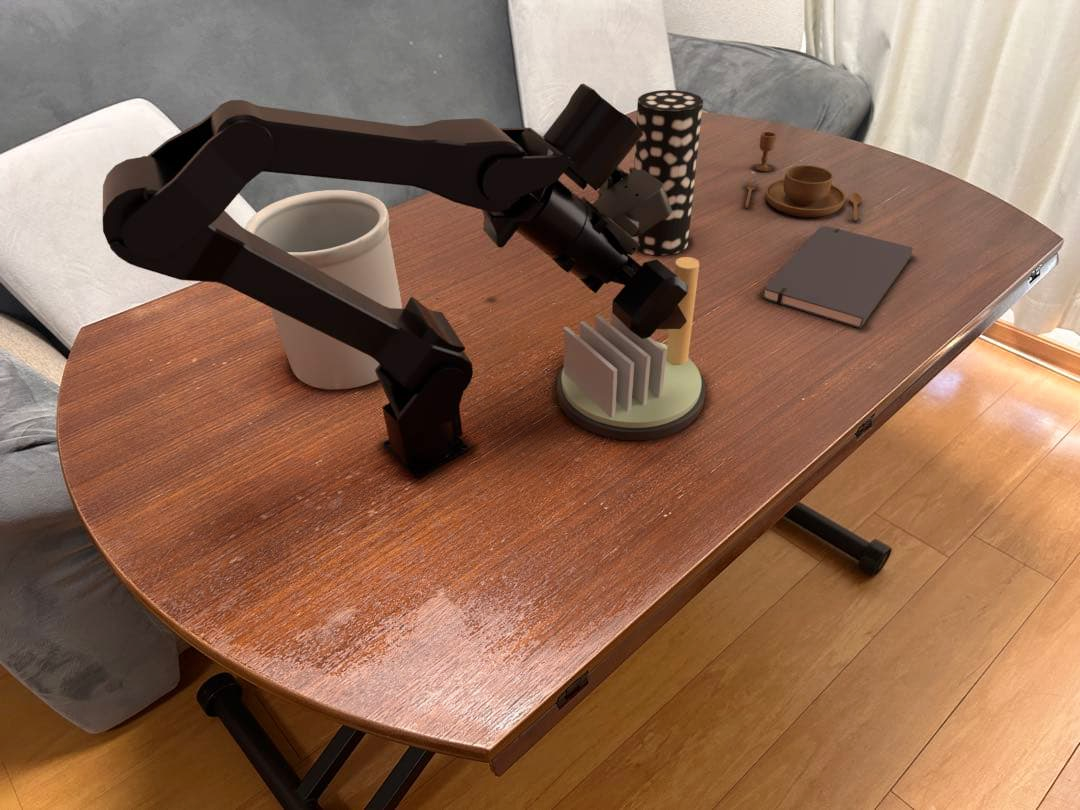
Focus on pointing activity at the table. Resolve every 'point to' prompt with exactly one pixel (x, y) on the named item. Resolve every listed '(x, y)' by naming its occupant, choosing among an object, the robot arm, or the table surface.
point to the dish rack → (633, 368)
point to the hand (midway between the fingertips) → (658, 302)
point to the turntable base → (629, 433)
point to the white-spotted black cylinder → (669, 162)
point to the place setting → (801, 188)
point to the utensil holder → (332, 274)
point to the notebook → (838, 275)
